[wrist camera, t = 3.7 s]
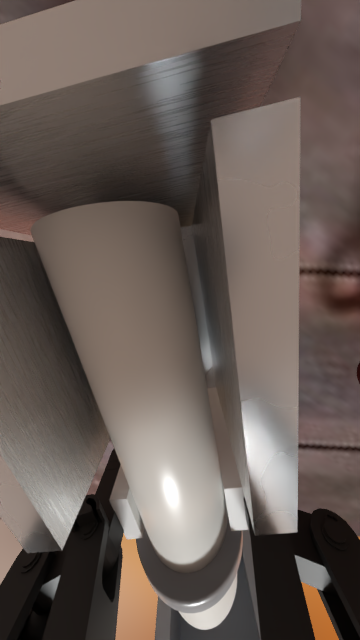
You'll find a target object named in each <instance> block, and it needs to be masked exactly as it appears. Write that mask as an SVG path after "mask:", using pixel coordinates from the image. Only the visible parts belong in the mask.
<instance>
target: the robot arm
mask: <svg viewBox="0 0 360 640" xmlns="http://www.w3.org/2000/svg"><path fill="white" fill-rule="evenodd" d="M207 390H208V396H209V402H210V408H211V414H212V420H213V426H214V432H215V438H216V444H217V450H218V456H219V463H220V470H221V476H222V482H223V488H224V494H225V500H226V506H227V512H228V517H229V523H230V529H231V531H237V530H249V534H250V538H251V548H252V557H253V567H254V577H255V587H256V596H257V606H258V616H259V626H260V635H261V640H315V637H314V632H313V628H312V624H311V620H310V616H309V612H308V608H307V604H306V600H305V596H304V592H303V588H302V583H301V582H304V583H306V584H308V585H310V586H313V587H315V588H317V590H318V592H319V594H320V597H321V599H322V601H323V604H324V606H325V608H326V610H327V613H328V615H329V617H330V620H331V622H332V624H333V627H334V629H335V631H336V633H337V636H338V638H339V640H360V540H359V538H358V537H357V535H356V534H355V532H354V531H353V530H352V528H351V527H350V526H349V525H348V524H347V522H346V521H345V520H343V519H342V518H341V517H340V516H338V515H337V514H336V513H334V512H332V511H329V510H327V509H317V510H315V511H313V513H312V514H310V513H307V512H303V511H300V510H298V522H297V532H295V533H282V534H270V535H257V536H255V534H254V530H253V527H252V523H251V519H250V515H249V511H248V508H247V504H246V500H245V496H244V492H243V489H242V485H241V481H240V477H239V473H238V470H237V466H236V462H235V458H234V454H233V451H232V447H231V443H230V439H229V435H228V432H227V428H226V424H225V420H224V417H223V413H222V409H221V405H220V401H219V398H218V394H217V390H216V387H214V388H207ZM123 533H124V534H125V537H126V538H127V539H137V538H143V533H144V523H143V521H142V518H141V516H140V513H139V511H138V508H137V505H136V503H135V500H134V498H133V495H132V492H131V490H130V487H129V485H128V482H127V480H126V477H125V474H124V472H123V469H122V467H121V464H120V461H119V459H118V456H117V454H116V451H115V449H113V451H112V453H111V455H110V458H109V460H108V463H107V466H106V468H105V472H104V473H103V476H102V478H101V481H100V484H99V486H98V489H97V491H96V494H95V495H94V494H91V495H87V496H85V498H84V501H83V503H82V505H81V508H80V510H79V512H78V515H77V517H76V519H75V522H74V524H73V526H72V529H71V531H70V533H69V536H68V538H67V540H66V543H65V545H64V547H63V550H62V551H50V552H37V553H27V552H26V551H25V550H24V548H23V549H22V551H21V552H20V554H19V555H18V556H17V558H16V560H15V561H14V563H13V565H12V566H11V568H10V570H9V571H8V573H7V575H6V577H5V578H4V580H3V581H2V583H1V585H0V640H115V636H116V635H115V634H116V625H117V613H118V601H119V590H120V579H121V568H122V548H121V541H122V537H123Z"/></svg>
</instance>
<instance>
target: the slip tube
mask: <svg viewBox="0 0 360 640" xmlns="http://www.w3.org/2000/svg"><path fill="white" fill-rule="evenodd" d="M30 232H31V234H32V237H33V240H34V242H35V245H36V247H37V250H38V252H39V255H40V258H41V260H42V263H43V265H44V268H45V271H46V273H47V276H48V278H49V281H50V283H51V286H52V289H53V291H54V294H55V296H56V299H57V302H58V304H59V307H60V309H61V312H62V314H63V317H64V320H65V322H66V325H67V327H68V330H69V332H70V335H71V338H72V340H73V343H74V345H75V348H76V351H77V353H78V356H79V358H80V361H81V363H82V366H83V369H84V371H85V374H86V376H87V379H88V382H89V384H90V387H91V389H92V392H93V394H94V397H95V400H96V402H97V405H98V407H99V410H100V412H101V415H102V418H103V420H104V423H105V425H106V428H107V431H108V433H109V436H110V438H111V441H112V443H113V446H114V449H115V451H116V454H117V456H118V459H119V461H120V464H121V467H122V469H123V472H124V474H125V477H126V480H127V482H128V485H129V487H130V490H131V492H132V495H133V498H134V500H135V503H136V505H137V508H138V511H139V513H140V516H141V518H142V521H143V523H144V533H143V538H137V539H136V543H137V550H138V554H139V557H140V561H141V563H142V566H143V568H144V570H145V573H146V575H147V578H148V580H149V582H150V584H151V586H152V588H153V589H154V591H155V592H156V594H157V595H158V596H159V598H160V599H161V600H162V601H163V602H164V603H166V604H167V605H168V606H170V607H171V608H173V609H174V610H177V611H179V613H180V614H181V616H182V617H183V618H184V619H185V621H187V622H188V623H189V624H190V625H192V626H193V627H195V628H198V629H202V630H207V629H212V628H214V627H216V626H217V625H219V624H220V623H221V622H222V621H223V620H224V619H225V618H226V616H227V615H228V613H229V611H230V609H231V607H232V604H233V601H234V598H235V594H236V588H237V571H238V568H239V564H240V560H241V555H242V547H243V531H242V530H237V531H231V529H230V523H229V517H228V512H227V506H226V500H225V494H224V488H223V482H222V476H221V470H220V463H219V456H218V450H217V444H216V438H215V432H214V426H213V420H212V414H211V408H210V402H209V396H208V390H207V384H206V378H205V372H204V366H203V360H202V354H201V348H200V342H199V336H198V330H197V324H196V318H195V312H194V306H193V300H192V294H191V288H190V282H189V276H188V270H187V264H186V258H185V252H184V246H183V240H182V234H181V228H180V222H179V216H178V212H177V211H176V210H175V209H173V208H172V207H169V206H167V205H163V204H159V203H153V202H144V201H113V202H102V203H94V204H87V205H82V206H77V207H72V208H68V209H64V210H61V211H58V212H55V213H52V214H49V215H47V216H45V217H43V218H41V219H39V220H38V221H36V222H35V223H34V224H33V225H32V226H31V228H30Z"/></svg>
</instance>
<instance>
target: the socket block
mask: <svg viewBox="0 0 360 640" xmlns="http://www.w3.org/2000/svg"><path fill="white" fill-rule="evenodd" d="M242 531H243V547H242V555H241V560H240V564H239V568H238V571H237V588H236V594H235V598H234V601H233V604H232V607H231V609H230V611H229V613H228V615H227V616H226V618H225V619H224V620H223V621H222V622H221V623H220V624H219V625H217V626H216V627H214V628H212V629H207V630H202V629H198V628H195V627H193V626H192V625H190V624H189V623H188V622H187V621H185V619H184V618H183V617H182V616H181V614H180V613H179V611H177V610H174V609H173V608H171V607H170V606H168V605H167V604H166V603H164V602H163V601H162V600H161V599H160V598H159V596H158V604H157V618H156V630H155V640H261V635H260V626H259V616H258V606H257V596H256V587H255V577H254V567H253V557H252V548H251V538H250V534H249V530H242Z"/></svg>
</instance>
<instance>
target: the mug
mask: <svg viewBox="0 0 360 640" xmlns="http://www.w3.org/2000/svg"><path fill="white" fill-rule="evenodd" d="M357 378H358V381H359V383H360V363H359V365H358V367H357Z"/></svg>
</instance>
